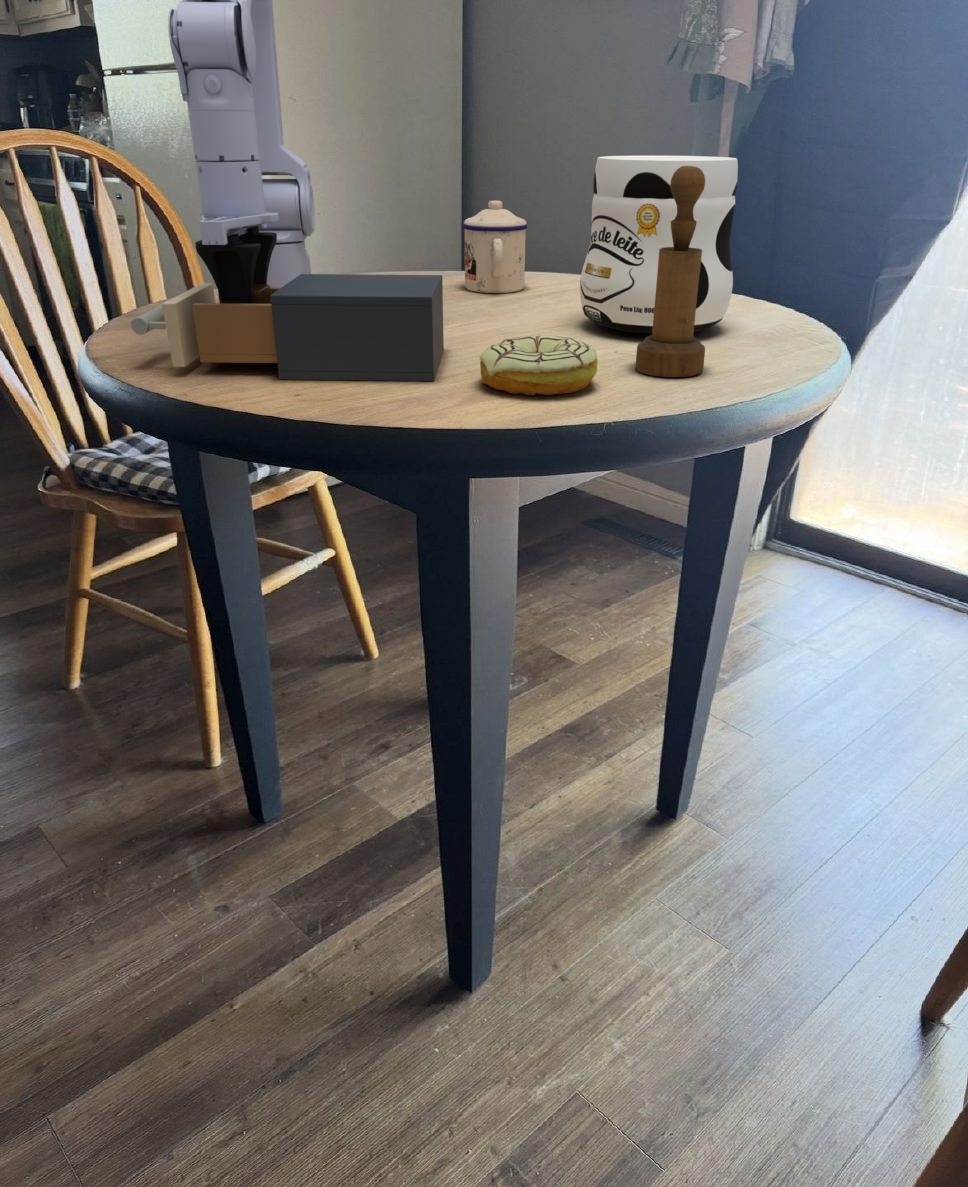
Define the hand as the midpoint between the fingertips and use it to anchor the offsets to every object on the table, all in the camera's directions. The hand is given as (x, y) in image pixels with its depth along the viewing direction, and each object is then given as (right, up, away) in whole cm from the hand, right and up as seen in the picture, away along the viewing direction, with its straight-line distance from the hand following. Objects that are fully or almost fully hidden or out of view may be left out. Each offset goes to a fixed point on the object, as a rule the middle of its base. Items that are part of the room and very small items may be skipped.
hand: (246, 315), depth 86 cm
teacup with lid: (+25, +16, +40) cm, 50 cm away
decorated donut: (+28, -8, -5) cm, 30 cm away
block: (0, -1, +1) cm, 1 cm away
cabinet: (+12, -4, +2) cm, 12 cm away
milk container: (+43, +4, +18) cm, 47 cm away
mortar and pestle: (+41, -5, 0) cm, 42 cm away
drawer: (-1, -3, +2) cm, 4 cm away
